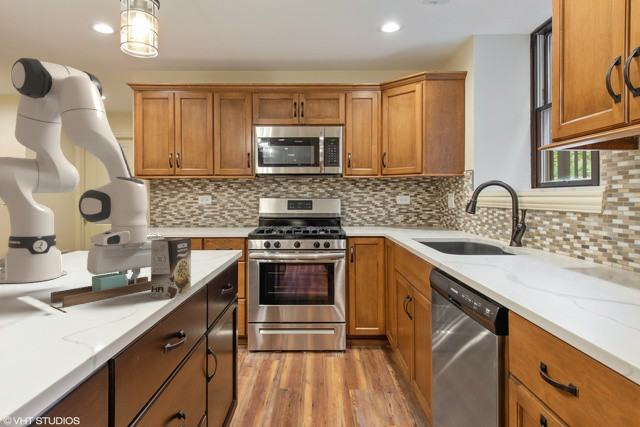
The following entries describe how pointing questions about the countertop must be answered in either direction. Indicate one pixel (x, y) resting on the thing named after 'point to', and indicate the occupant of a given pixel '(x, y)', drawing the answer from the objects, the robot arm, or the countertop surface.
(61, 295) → the chute
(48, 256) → the robot arm
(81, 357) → the countertop surface
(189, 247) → the coffee box
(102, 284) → the block
